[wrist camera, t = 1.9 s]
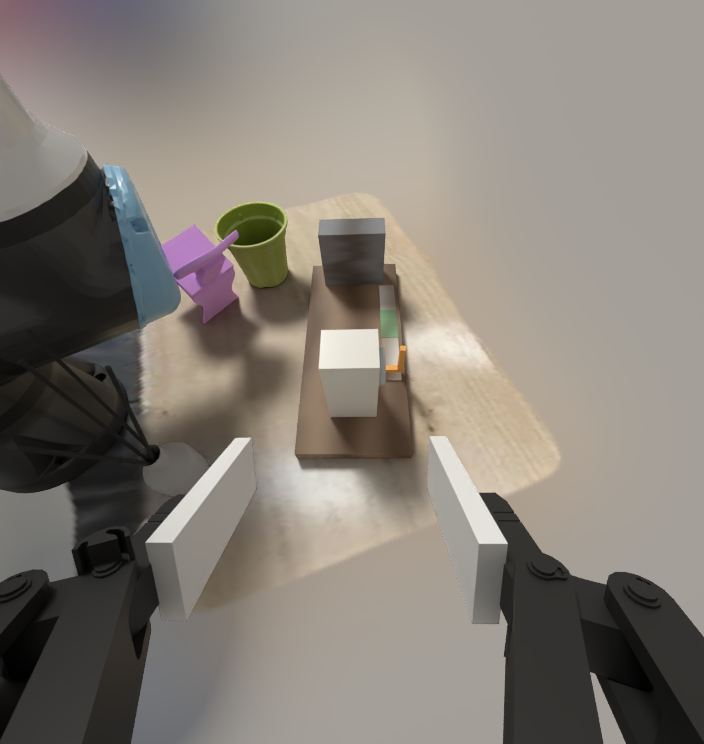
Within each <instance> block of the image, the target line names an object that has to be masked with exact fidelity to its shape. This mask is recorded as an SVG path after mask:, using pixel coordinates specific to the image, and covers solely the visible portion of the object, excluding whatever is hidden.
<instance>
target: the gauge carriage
mask: <svg viewBox="0 0 704 744" xmlns="http://www.w3.org/2000/svg"><path fill="white" fill-rule="evenodd" d="M319 373H320V377H321V381H322V385H323V389H324V393H325V398H326V402H327V406H328V410H329V414H330V417H377V403H378V388H379V386H385V381H386V358H385V347H379V337H378V329H352V330H321V341H320V355H319Z"/></svg>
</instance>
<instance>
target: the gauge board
mask: <svg viewBox="0 0 704 744" xmlns="http://www.w3.org/2000/svg"><path fill="white" fill-rule="evenodd" d="M318 237H319V244H320V251H321V258H322V265H323V266H313V274H312V284H311V294H310V304H309V314H308V324H307V334H306V345H305V355H304V365H303V375H302V385H301V395H300V405H299V415H298V426H297V436H296V446H295V455H296V457H297V458H411V456H412V443H411V432H410V421H409V410H408V399H407V388H406V377H405V366H403V372H401V373H386V381H385V386H379V388H378V403H377V417H330V414H329V410H328V406H327V402H326V398H325V393H324V389H323V385H322V381H321V377H320V373H319V355H320V341H321V330H352V329H378V337H379V347H385V358H386V365H397V363H398V356H399V350H400V346H403V344H402V333H401V323H400V312H399V301H398V290H397V279H396V268H395V264H384V250H385V220H384V218H364V219H332V220H320V222H319V232H318Z"/></svg>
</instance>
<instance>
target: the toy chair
mask: <svg viewBox="0 0 704 744" xmlns="http://www.w3.org/2000/svg"><path fill="white" fill-rule="evenodd" d="M238 237H239V235H238V232H237V230H235V231H233V232H232V233H231V234H230V235H229V236H227V237H226V238H225V239H224V240H223V241H222V242H221V243H219V244H218V245H217V246H216V247H215V246H214V245H213V244H212V243H211V242H210V241H209V240H208V238H207V237H206V236H205V235H204V234H203V233H202V232H201V231H200V230H199V229H198V228H197V227H196V226H195V225H193V226H191V227H189V228H188V229H186V230H185V231H183V232H182V233H180V234H179V235H177V236H176V237H174V238H173V239H171V240H169V241H168V242H166V243H164V244H163V245H161V246H162V248H163V250H164V253H165V255H166V257H167V260H168V262H169V264H170V267H171V269H172V272H173V274H174V277H175V279H176V282H177V284H178V285H179V286H180V287H181V288H182V289H183V290H184V291H185V292H186V293H187V294H188V295H189V296H190V297H191V299H192V300H193V301H194V302H195V303H197V304H199V305H201V306H202V307H203V310H204V314H203V320H202V323H204V324H205V323H206V322H207V321H209V320H210V319H211V318H212V317H214V316H215V315H216V314H218V313H219V312H220V311H221V310H223V309H224V308H225V307H226V306H228V305H229V304H230V303H231V302H233V301H234V300H235V299H237V298H238V296H237V295H236V294H235V293H234V292H233V291H232V283H233V280H234V276H235V271H234V269H233V266H234V265H233V264H232V263H231V262H230V261H229V260H228V259H227V258H226V257H225V256H224V255H223V254H222V252H223V251H224V250H225V249H227V248H228V247H229V246H230V245H231V244H233V243H234V242H235V241H236V240H237V239H238Z"/></svg>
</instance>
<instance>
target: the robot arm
mask: <svg viewBox="0 0 704 744" xmlns="http://www.w3.org/2000/svg"><path fill="white" fill-rule="evenodd" d="M180 301H181V294H180V290H179V287H178V284H177V282H176V279H175V277H174V274H173V272H172V269H171V267H170V264H169V262H168V260H167V257H166V255H165V253H164V250H163V248H162V246H161V243H160V241H159V239H158V237H157V235H156V232H155V230H154V228H153V226H152V223H151V221H150V219H149V217H148V214H147V212H146V210H145V208H144V206H143V203H142V201H141V199H140V197H139V195H138V193H137V191H136V189H135V187H134V185H133V183H132V181H131V179H130V177H129V175H128V173H127V171H126V170H125V169H124V168H122V167H120V166H111V165H108V164H106V165H103V168H102V169H100V168H99V167H98V166H97V165H96V163H95V162H94V160H93V159H92V157H91V156H90V154H89V153H88V151H87V150H86V148H85V147H84V146H83V144H82V143H81V142H80V141H79V140H78V139H77V138H76V137H75V136H73V135H71V134H69V133H67V132H64V131H62V130H60V129H58V128H56V127H53V126H51V125H49V124H47V123H44V122H42V121H40V120H38V119H37V118H35V117H34V116H33V115H32V114H31V113H30V112H29V111H28V110H27V108H26V107H25V106H24V104H23V103H22V102H21V100H20V99H19V98H18V96H17V95H16V94H15V92H14V91H13V89H12V88H11V87H10V85H9V84H8V83H7V82H6V80H5V79H4V77H3V76H2V75H1V73H0V489H1V490H6V491H11V492H16V493H33V492H40V491H44V490H48V489H51V488H54V487H57V486H59V485H61V484H64V483H66V482H68V481H69V480H71V479H73V478H75V477H76V476H78V475H79V474H81V473H82V472H84V471H85V470H86V469H88V468H89V467H90V466H91V465H93V464H94V463H95V462H96V461H97V460H94V459H85V458H76V457H66V456H57V455H47V454H38V453H29V452H19V451H18V448H19V447H20V446H27V447H35V448H42V449H50V450H58V451H66V452H74V453H82V454H90V455H97V456H102V455H103V454H104V453H105V452H106V451H107V449H108V448H109V447H110V446H111V444H112V443H113V441H114V440H115V437H114V436H113V435H111V434H110V433H109V432H107V431H106V430H105V429H103V428H102V427H101V426H99V425H98V424H97V423H96V422H94V421H93V420H92V419H90V418H89V417H88V416H86V415H85V414H84V413H83V412H81V411H80V410H79V409H77V408H76V407H75V406H73V405H72V404H71V403H70V402H68V401H67V400H66V399H64V398H63V397H62V396H60V395H59V394H58V393H57V392H55V391H54V390H53V389H51V388H50V387H49V386H47V385H46V384H45V383H44V382H42V381H41V380H40V379H38V378H37V377H36V376H34V375H33V374H32V373H31V372H29V371H28V370H27V369H25V368H24V367H23V366H21V365H20V364H19V363H18V362H17V361H18V360H19V359H23V360H24V361H25V362H27V363H28V364H29V365H30V366H32V367H33V368H34V369H35V370H37V371H38V372H39V373H41V374H42V375H43V376H44V377H46V378H47V379H48V380H49V381H51V382H52V383H53V384H54V385H56V386H57V387H58V388H60V389H61V390H62V391H63V392H65V393H66V394H67V395H68V396H70V397H71V398H72V399H73V400H75V401H76V402H77V403H79V404H80V405H81V406H82V407H84V408H85V409H86V410H87V411H89V412H90V413H91V414H92V415H94V416H95V417H96V418H98V419H99V420H100V421H101V422H103V423H104V424H105V425H106V426H108V427H109V428H110V429H111V430H113V431H114V432H115V433H117V434H118V433H119V431H120V430H121V427H122V424H121V423H120V422H119V421H118V420H117V419H116V418H115V417H113V416H112V415H111V414H110V413H109V412H108V411H107V410H106V409H105V408H104V407H103V406H102V405H101V404H100V403H99V402H98V401H97V400H96V399H95V398H94V397H93V396H92V395H91V394H90V393H89V392H87V391H86V390H85V389H84V388H83V387H82V386H81V385H80V384H79V383H78V382H77V381H76V380H75V379H74V378H73V377H72V376H71V375H70V374H69V373H68V372H67V371H66V370H65V369H64V368H63V367H61V366H60V365H59V364H58V363H57V362H56V361H55V360H54V359H53V358H52V357H51V356H50V355H49V354H48V353H47V352H46V351H45V350H44V349H43V348H42V347H41V346H40V345H39V344H38V343H37V342H35V341H34V340H33V339H32V338H31V337H30V336H29V335H28V334H27V333H26V332H25V331H27V330H29V329H30V330H31V331H32V332H33V333H34V334H35V335H36V336H38V337H39V338H40V339H41V340H42V341H43V342H44V343H45V344H46V345H47V346H48V347H49V348H50V349H51V350H52V351H53V352H54V353H55V354H56V355H57V356H58V357H59V358H60V359H61V360H62V361H63V362H64V363H65V364H66V365H67V366H68V367H69V368H70V369H71V370H72V371H73V372H74V373H75V374H76V375H77V376H78V377H79V378H80V379H81V380H82V381H83V382H84V383H85V384H87V385H88V386H89V387H90V388H91V389H92V390H93V391H94V392H95V393H96V394H97V395H98V396H99V397H100V398H101V399H102V400H103V401H104V402H105V403H106V404H107V405H108V406H109V407H110V408H111V409H112V410H113V411H114V412H115V413H116V414H117V415H118V416H119V417H120V418H121V419H122V420H123V421H124V420H125V416H126V412H127V410H126V408H125V406H124V404H123V402H122V400H121V398H120V396H119V395H118V393H117V391H116V389H115V387H114V385H113V383H112V381H111V379H110V377H109V375H108V373H107V371H106V369H104V368H103V367H101V366H99V365H97V364H95V363H92V362H89V361H86V360H83V359H79V358H76V357H73V356H70V355H72V354H75V353H77V352H80V351H83V350H85V349H88V348H90V347H93V346H95V345H98V344H100V343H103V342H105V341H108V340H110V339H113V338H116V337H118V336H121V335H123V334H126V333H128V332H131V331H133V330H136V329H138V328H139V329H140V330H141V329H143V328H144V327H146V324H148V323H151V322H153V321H155V320H157V319H159V318H162V317H164V316H166V315H168V314H171V313H172V312H174V311H175V310H176V309H177V307H178V305H179V303H180ZM116 379H117V378H116ZM117 381H118V383H119V385H120V387H121V389H122V391H123V393H124V395H125V397H126V399H127V395H126V391H125V389H124V387H123V385H122V383H121V382H120V381H119V380H118V379H117ZM256 489H257V486H256V476H255V467H254V458H253V448H252V439H251V438H235V439H234V440H233V441H232V443H231V444H230V445H229V446H228V447H227V448H226V450H225V451H224V452H223V453H222V454H221V455H220V456H219V458H218V459H217V460H216V461H215V462H214V463H213V465H212V466H211V467H210V468H209V469H208V470H207V472H206V473H205V474H204V475H203V476H202V477H201V478H200V480H199V481H198V482H197V483H196V484H195V485H194V487H193V488H192V489H191V490H190V491H189V492H188V494H178V495H176V496H175V497H173V498H172V499H170V500H168V501H167V502H165V503H164V504H163V505H162V506H161V507H160V508H159V510H158V511H157V512H156V513H155V515H153V516H152V517H151V518H150V519H149V520H148V523H145V525H144V526H143V527H142V528H141V529H140V530H139V531H138V532H137V533H136V534H135V535H134V536H133V537H132V538H131V534H130V530H129V529H128V528H127V527H123V526H113V527H108V528H105V529H102V530H99V531H96V532H94V533H92V534H90V535H88V536H86V537H85V538H84V539H82V540H81V541H80V542H78V543H77V544H76V546H75V547H74V548H73V549H72V554H73V558H74V561H75V565H76V568H77V572H78V576H75V577H71V578H68V579H63V580H59V581H54V582H50V581H49V578H48V575H47V573H46V572H45V571H43V570H30V571H26V572H22V573H19V574H16V575H14V576H11V577H9V578H8V579H6V580H4V581H3V582H1V583H0V744H131V739H132V734H133V728H134V723H135V717H136V711H137V706H138V701H139V695H140V690H141V684H142V679H143V673H144V668H145V662H146V656H147V651H148V645H149V640H150V634H151V624H150V619H149V618H150V617H151V615H152V614H153V612H154V610H155V609H156V607H157V606H159V610H160V615H161V620H187V619H188V617H189V615H190V613H191V611H192V609H193V607H194V606H195V604H196V602H197V600H198V598H199V596H200V594H201V592H202V591H203V589H204V587H205V585H206V583H207V581H208V579H209V577H210V576H211V574H212V572H213V570H214V568H215V566H216V564H217V562H218V561H219V559H220V557H221V555H222V553H223V551H224V549H225V547H226V546H227V544H228V542H229V540H230V538H231V536H232V534H233V532H234V531H235V529H236V527H237V525H238V523H239V521H240V519H241V517H242V516H243V514H244V512H245V510H246V508H247V506H248V504H249V502H250V501H251V499H252V497H253V495H254V493H255V491H256ZM427 489H428V492H429V495H430V498H431V501H432V504H433V507H434V510H435V513H436V516H437V519H438V522H439V525H440V528H441V531H442V534H443V537H444V540H445V543H446V546H447V549H448V552H449V555H450V558H451V561H452V564H453V567H454V570H455V574H456V576H457V579H458V582H459V585H460V588H461V592H462V595H463V598H464V601H465V604H466V607H467V609H468V613H469V616H470V619H471V622H472V624H499V619H500V611H501V610H502V612H503V614H504V616H505V619H506V621H507V623H508V626H507V635H506V643H505V651H504V657H506V665H505V697H504V729H503V730H504V731H503V744H603V739H602V734H601V728H600V723H599V718H598V712H597V707H596V702H595V697H594V691H593V686H592V681H591V675H590V672H592V673H595V674H596V676H597V679H598V681H599V683H600V685H601V688H602V690H603V692H604V694H605V697H606V699H607V701H608V704H609V706H610V708H611V710H612V713H613V715H614V717H615V719H616V722H617V724H618V726H619V729H620V730H621V733H622V735H623V738H624V740H625V742H626V744H704V637H703V636H702V634H701V633H700V632H699V631H698V629H697V628H696V627H695V626H694V624H693V623H692V622H691V621H690V619H689V618H688V617H687V615H686V614H685V613H684V612H683V610H682V609H681V608H680V607H679V605H678V604H677V603H676V602H675V600H674V599H673V598H672V597H671V596H669V594H668V593H667V592H666V591H665V590H663V589H662V588H660V587H659V586H657V585H656V584H654V583H653V582H651V581H649V580H647V579H645V578H643V577H641V576H638V575H635V574H631V573H627V572H615V573H613V574H611V575H609V577H608V580H607V584H606V585H605V584H601V583H597V582H593V581H589V580H585V579H582V578H578V577H575V576H572V575H570V573H569V571H568V570H567V569H566V567H565V566H564V565H563V564H562V563H561V562H559V561H558V560H556V559H554V558H553V557H551V556H549V555H547V554H544V553H542V552H541V550H540V549H539V547H538V546H537V545H536V543H535V542H534V540H533V539H532V537H531V536H530V534H529V533H528V532H527V530H526V529H525V527H524V526H523V524H522V523H521V522H520V520H519V518H518V517H517V515H516V514H514V511H513V510H512V508H511V507H510V505H509V504H508V502H507V501H506V500H504V499H503V498H502V497H500V496H499V495H498V494H496V493H478V491H477V489H476V488H475V486H474V484H473V482H472V481H471V479H470V477H469V476H468V474H467V472H466V470H465V469H464V467H463V465H462V463H461V462H460V460H459V458H458V457H457V455H456V453H455V451H454V450H453V448H452V446H451V444H450V443H449V441H448V439H447V437H446V436H429V456H428V483H427Z"/></svg>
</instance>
